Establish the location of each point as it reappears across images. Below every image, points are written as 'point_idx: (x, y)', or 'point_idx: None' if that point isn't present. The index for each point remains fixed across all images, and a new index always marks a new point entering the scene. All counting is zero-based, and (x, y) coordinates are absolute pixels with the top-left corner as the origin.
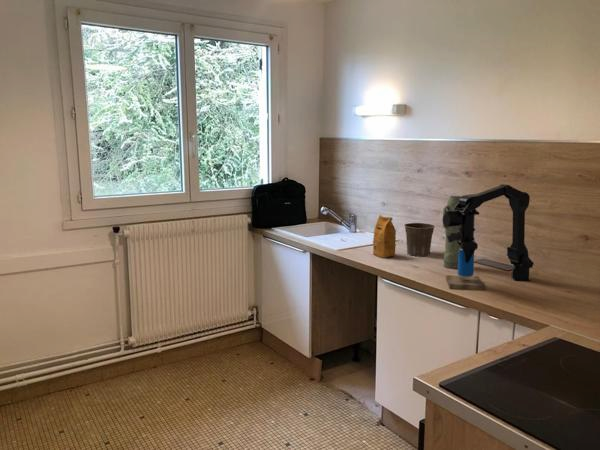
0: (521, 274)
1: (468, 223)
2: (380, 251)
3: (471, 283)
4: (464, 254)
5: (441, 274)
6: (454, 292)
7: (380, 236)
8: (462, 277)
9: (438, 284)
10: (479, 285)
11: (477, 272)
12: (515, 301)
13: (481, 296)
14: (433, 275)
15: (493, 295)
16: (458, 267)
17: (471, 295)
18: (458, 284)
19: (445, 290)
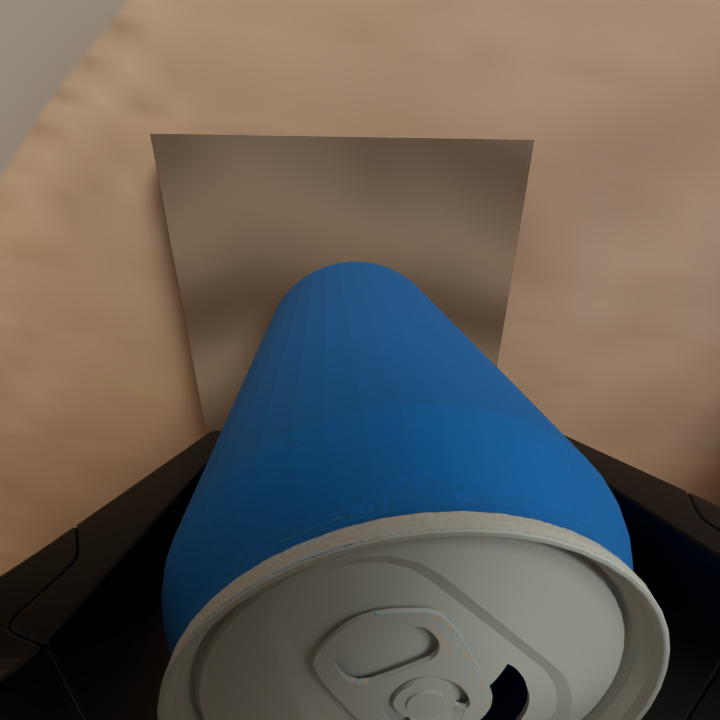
0: None
1: None
2: None
3: (245, 367)
4: (119, 540)
5: (708, 121)
6: (49, 176)
7: None
8: (446, 312)
9: (316, 17)
10: (206, 421)
11: (691, 442)
12: (13, 567)
13: (28, 396)
14: (691, 4)
15: (97, 473)
16: (332, 284)
17: (19, 324)
18: (170, 237)
19: (87, 77)
